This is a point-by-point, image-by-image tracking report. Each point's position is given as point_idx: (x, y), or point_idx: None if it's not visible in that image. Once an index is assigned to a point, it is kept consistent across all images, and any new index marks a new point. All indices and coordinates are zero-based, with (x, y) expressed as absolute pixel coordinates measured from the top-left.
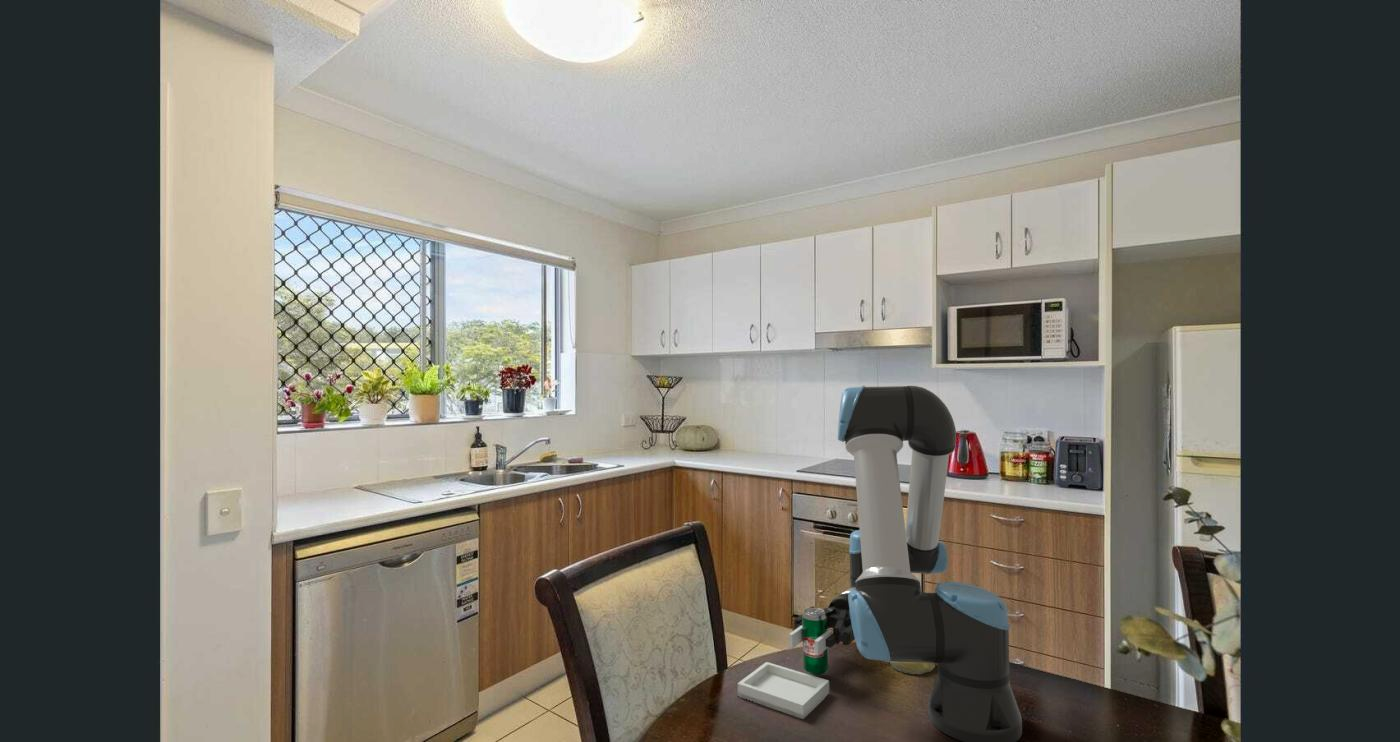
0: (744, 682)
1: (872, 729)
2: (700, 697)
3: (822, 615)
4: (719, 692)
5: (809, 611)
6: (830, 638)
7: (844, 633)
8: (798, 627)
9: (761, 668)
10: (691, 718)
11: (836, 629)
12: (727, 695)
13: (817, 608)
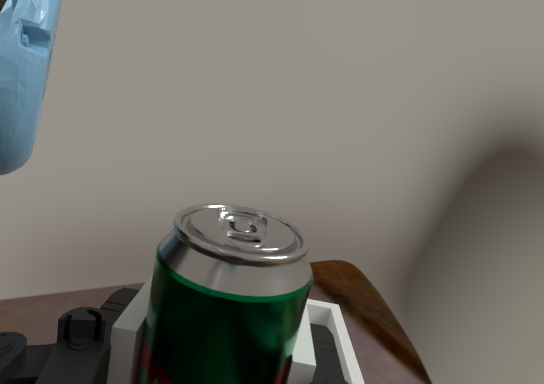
0: (331, 313)
1: (3, 301)
2: (379, 313)
3: (183, 217)
4: (370, 333)
5: (267, 223)
6: (121, 301)
7: (15, 336)
8: (308, 319)
9: (351, 373)
10: (337, 276)
11: (80, 312)
12: (350, 329)
13: (245, 255)
